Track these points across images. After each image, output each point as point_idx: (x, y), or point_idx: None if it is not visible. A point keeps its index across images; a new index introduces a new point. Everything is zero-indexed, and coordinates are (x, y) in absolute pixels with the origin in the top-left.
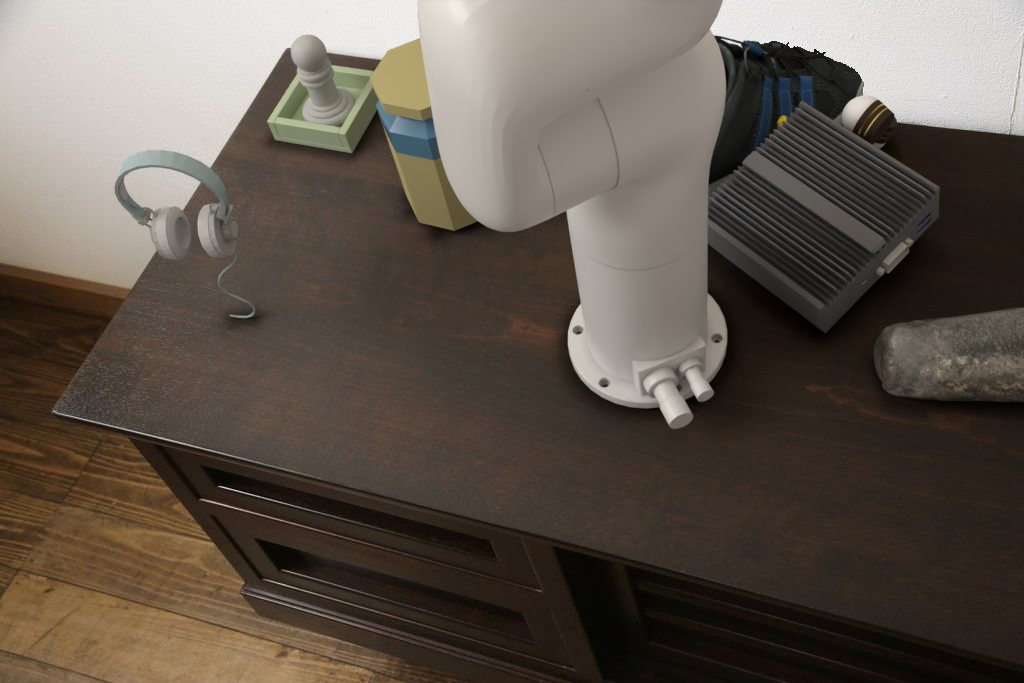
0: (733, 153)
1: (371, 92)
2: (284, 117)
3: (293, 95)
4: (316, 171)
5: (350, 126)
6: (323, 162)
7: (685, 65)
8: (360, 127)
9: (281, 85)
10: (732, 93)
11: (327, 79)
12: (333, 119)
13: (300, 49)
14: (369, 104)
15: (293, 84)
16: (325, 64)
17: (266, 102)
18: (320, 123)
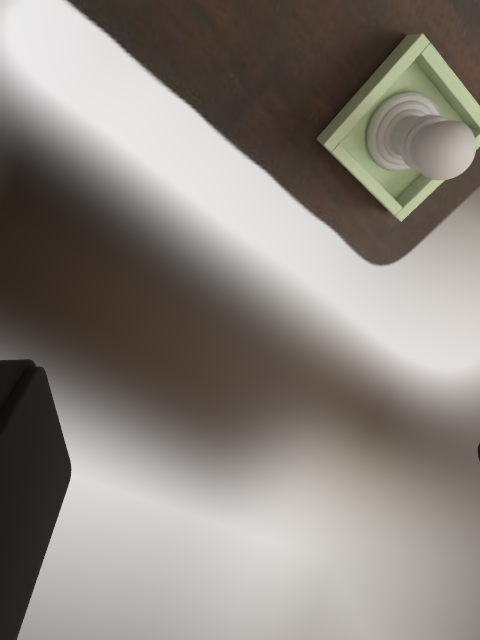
0: None
1: (349, 113)
2: None
3: None
4: (464, 25)
5: (407, 49)
6: (447, 40)
7: None
8: (383, 67)
9: (424, 223)
10: None
11: (420, 120)
12: (412, 96)
13: (468, 139)
14: (357, 100)
15: (433, 184)
16: (419, 135)
17: (453, 202)
18: (430, 99)
